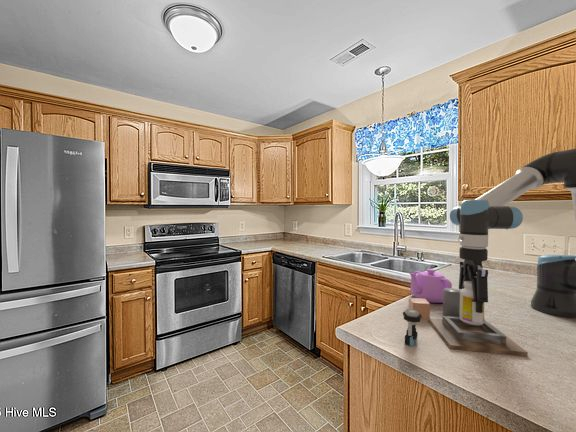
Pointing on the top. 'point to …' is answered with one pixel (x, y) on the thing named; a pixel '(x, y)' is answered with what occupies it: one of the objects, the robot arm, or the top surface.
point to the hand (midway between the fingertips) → (471, 317)
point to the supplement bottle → (467, 304)
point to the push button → (411, 326)
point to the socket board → (475, 337)
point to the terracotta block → (420, 306)
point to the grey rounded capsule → (451, 302)
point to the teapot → (429, 285)
